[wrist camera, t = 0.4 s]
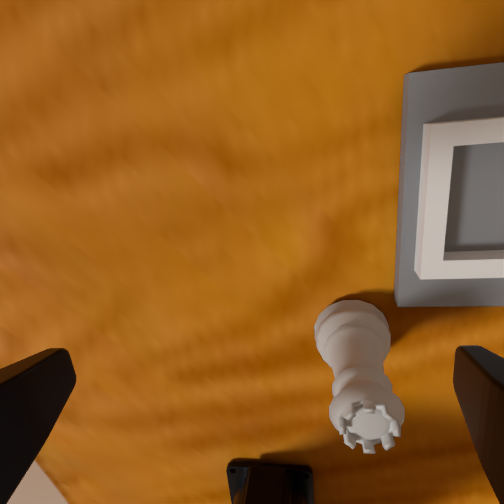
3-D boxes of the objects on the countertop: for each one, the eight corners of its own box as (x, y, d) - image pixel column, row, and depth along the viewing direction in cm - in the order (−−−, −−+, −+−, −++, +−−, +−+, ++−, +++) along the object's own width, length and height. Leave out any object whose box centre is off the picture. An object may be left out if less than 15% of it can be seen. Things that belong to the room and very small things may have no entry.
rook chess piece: (299, 319, 23) (294, 417, 16) (360, 282, 22) (386, 370, 14) (341, 368, 24) (355, 483, 16) (402, 335, 22) (448, 445, 15)
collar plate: (566, 296, 20) (595, 317, 18) (393, 298, 22) (402, 318, 20) (622, 50, 16) (667, 41, 14) (404, 74, 17) (416, 70, 15)
